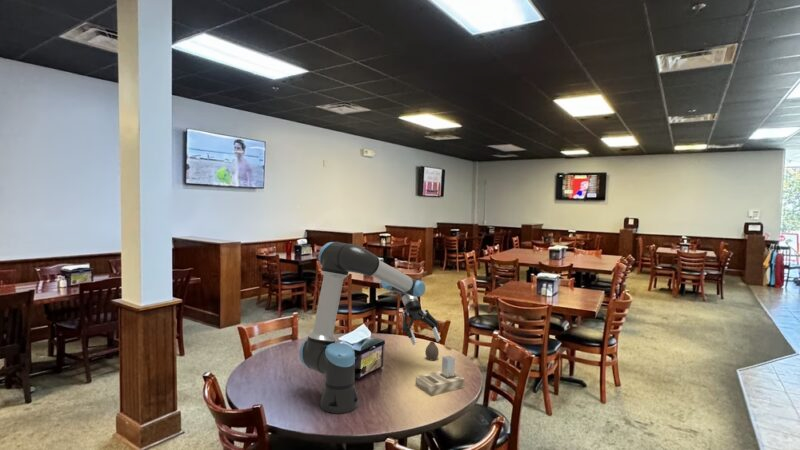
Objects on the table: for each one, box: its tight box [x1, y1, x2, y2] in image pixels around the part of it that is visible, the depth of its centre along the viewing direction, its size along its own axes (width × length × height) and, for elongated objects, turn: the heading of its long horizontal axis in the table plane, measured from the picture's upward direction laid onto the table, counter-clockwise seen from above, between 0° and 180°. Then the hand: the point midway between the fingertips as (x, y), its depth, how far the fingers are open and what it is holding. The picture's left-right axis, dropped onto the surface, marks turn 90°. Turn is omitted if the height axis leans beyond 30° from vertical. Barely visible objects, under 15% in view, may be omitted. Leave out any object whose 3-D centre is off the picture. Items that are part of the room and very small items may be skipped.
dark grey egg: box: [424, 341, 440, 361], centre depth 223 cm, size 7×7×9 cm
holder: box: [415, 370, 465, 397], centre depth 190 cm, size 18×12×4 cm, turn 121°
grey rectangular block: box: [441, 355, 456, 379], centre depth 192 cm, size 4×4×12 cm
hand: (427, 342), depth 200 cm, fingers open, 13 cm apart
